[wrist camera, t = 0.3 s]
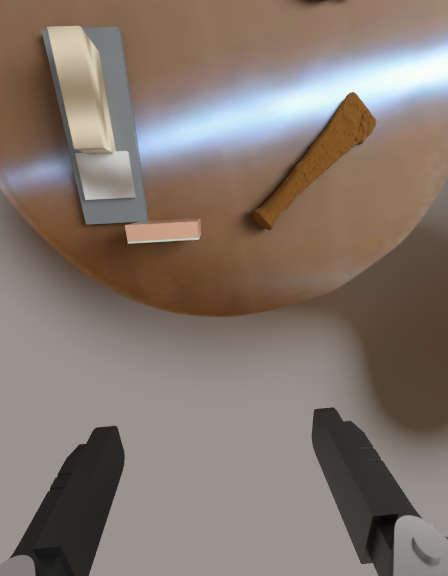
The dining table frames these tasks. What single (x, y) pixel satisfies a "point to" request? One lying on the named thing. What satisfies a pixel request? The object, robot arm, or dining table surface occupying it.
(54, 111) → the dining table surface
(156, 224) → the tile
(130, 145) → the plate
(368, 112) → the primitive tool
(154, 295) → the dining table surface
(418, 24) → the dining table surface
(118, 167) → the beige stepped block
